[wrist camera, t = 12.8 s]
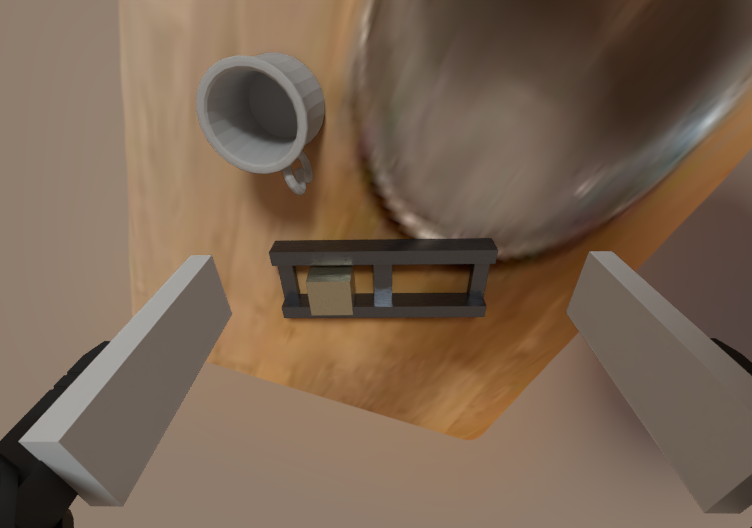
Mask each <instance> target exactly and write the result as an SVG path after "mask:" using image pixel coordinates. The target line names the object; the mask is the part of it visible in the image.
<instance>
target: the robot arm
mask: <svg viewBox="0 0 752 528" xmlns="http://www.w3.org/2000/svg"><path fill="white" fill-rule="evenodd" d="M566 313H567V315H568V316H569V318H570V319H571V321H572V322H573V323H574V325H575V326H576V328H577V329H578V331H579V332H580V334H581V335H582V336H583V338H584V339H585V341H586V342H587V344H588V345H589V347H590V348H591V350H592V351H593V352H594V354H595V355H596V357H597V358H598V360H599V361H600V363H601V364H602V365H603V367H604V368H605V370H606V371H607V373H608V374H609V376H610V377H611V379H612V380H613V381H614V383H615V384H616V386H617V387H618V389H619V390H620V392H621V393H622V395H623V396H624V397H625V399H626V400H627V402H628V403H629V405H630V406H631V408H632V409H633V411H634V412H635V413H636V415H637V416H638V418H639V419H640V421H641V422H642V424H643V425H644V426H645V428H646V429H647V431H648V432H649V434H650V435H651V437H652V438H653V440H654V441H655V443H656V444H657V445H658V447H659V448H660V450H661V451H662V453H663V454H664V456H665V457H666V458H667V460H668V461H669V463H670V464H671V466H672V467H673V469H674V470H675V472H676V473H677V474H678V476H679V477H680V479H681V480H682V481H683V483H684V485H685V486H686V488H687V489H688V490H689V492H690V493H691V495H692V496H693V498H694V499H695V501H696V502H697V504H698V505H699V506H700V508H701V509H702V511H703V512H704V513H741V512H743V511H744V510H745V509H747V508H748V507H749V506H750V505H752V362H750V361H749V360H748V359H747V358H746V357H745V356H743V355H742V354H741V353H739V352H738V351H736V350H734V349H733V348H731V347H729V346H727V345H726V344H724V343H722V342H721V341H719V340H717V339H716V338H711V339H710V338H709V337H708V336H706V335H705V334H704V333H703V332H702V331H701V330H700V329H699V328H697V327H696V326H695V325H694V324H693V323H692V322H691V321H690V320H688V319H687V318H686V317H685V316H684V315H683V314H682V313H681V312H679V311H678V310H677V309H676V308H675V307H674V306H673V305H672V304H671V303H669V302H668V301H667V300H666V299H665V298H664V297H663V296H662V295H660V294H659V293H658V292H657V291H656V290H655V289H654V288H652V287H651V286H650V285H649V284H648V283H647V282H646V281H645V280H644V279H642V278H641V277H640V276H639V275H638V274H637V273H636V272H635V271H634V270H632V269H631V268H630V267H629V266H628V265H627V264H626V263H625V262H623V261H622V260H621V259H620V258H619V257H618V256H617V255H616V254H614V253H613V252H612V251H589V253H588V256H587V258H586V261H585V263H584V266H583V269H582V271H581V274H580V276H579V279H578V282H577V284H576V287H575V290H574V292H573V295H572V297H571V300H570V303H569V305H568V308H567V311H566ZM231 315H232V312H231V309H230V307H229V304H228V301H227V298H226V295H225V292H224V289H223V286H222V283H221V280H220V277H219V275H218V272H217V269H216V266H215V263H214V260H213V257H212V255H190V257H189V258H188V259H187V260H186V261H185V262H184V263H183V264H182V265H181V266H180V267H179V268H178V269H177V271H176V272H175V273H174V274H173V275H172V276H171V277H170V278H169V279H168V280H167V281H166V282H165V284H164V285H163V286H162V287H161V288H160V289H159V290H158V291H157V292H156V293H155V294H154V295H153V296H152V298H151V299H150V300H149V301H148V302H147V303H146V304H145V305H144V306H143V307H142V308H141V309H140V311H139V312H138V313H137V314H136V315H135V316H134V317H133V318H132V319H131V320H130V321H129V323H127V325H126V326H125V327H124V328H123V329H122V330H121V331H120V332H119V333H118V334H117V335H116V336H115V338H114V339H113V340H112V341H104V342H103V343H101V344H100V345H98V346H97V347H95V348H94V349H92V350H91V351H89V352H88V353H86V354H85V355H83V356H82V357H81V358H80V360H78V362H77V363H76V364H75V365H74V366H73V367H72V368H71V369H70V370H69V371H68V372H67V375H64V376H63V377H62V378H61V379H60V380H59V381H58V382H57V383H56V384H55V385H54V389H53V390H49V391H48V392H47V393H46V394H45V396H44V397H43V398H42V399H41V400H40V401H39V402H38V403H37V404H36V405H35V406H34V407H33V408H32V409H31V410H30V411H29V412H28V413H27V414H26V415H25V416H24V417H23V418H22V419H21V420H20V421H19V422H18V423H17V424H16V425H15V426H14V427H13V428H12V429H11V430H10V431H9V433H7V434H6V436H5V437H4V438H3V439H2V440H1V441H0V528H74V521H73V516H72V513H71V510H69V509H68V508H69V506H70V505H71V503H72V502H73V501H74V499H75V498H76V496H77V495H79V496H80V497H81V498H82V499H83V500H85V501H86V502H87V503H88V504H89V505H90V506H124V504H125V502H126V500H127V498H128V497H129V495H130V493H131V491H132V490H133V488H134V486H135V484H136V483H137V481H138V479H139V477H140V476H141V474H142V472H143V470H144V468H145V467H146V465H147V463H148V461H149V460H150V458H151V456H152V454H153V453H154V451H155V449H156V447H157V445H158V444H159V442H160V440H161V438H162V437H163V435H164V433H165V431H166V430H167V428H168V426H169V424H170V422H171V421H172V419H173V417H174V416H175V414H176V412H177V410H178V408H179V407H180V405H181V403H182V401H183V399H184V398H185V396H186V394H187V393H188V391H189V389H190V387H191V385H192V384H193V382H194V380H195V379H196V377H197V375H198V373H199V371H200V370H201V368H202V366H203V364H204V362H205V361H206V359H207V357H208V356H209V354H210V352H211V350H212V349H213V347H214V345H215V343H216V341H217V340H218V338H219V336H220V334H221V333H222V331H223V329H224V327H225V326H226V324H227V322H228V320H229V319H230V317H231ZM751 528H752V527H751Z"/></svg>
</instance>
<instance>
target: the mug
mask: <svg viewBox="0 0 752 528" xmlns="http://www.w3.org/2000/svg"><path fill="white" fill-rule="evenodd" d="M197 114H198V119H199V123H200V126H201V128H202V130H203V132H204V134H205V137H206V139H207V140H208V142H209V143H210V144H211V146H212V147H213V148H214V149H215V151H216V152H217V153H218V154H219V155H220V156H222V157H223V158H224V159H225V160H226V161H227V162H229V163H230V164H232V165H234V166H236V167H238V168H239V169H241V170H244V171H248V172H251V173H256V174H270V173H274V172H278V171H281V170H282V173H283V176H284V179H285V181H286V183H287V185H288V186H289V188H290V189H291V190H292V191H293V192H294V193H295V194H297V195H302V194H304V193H305V192H306V183H310V182H311V181H312V180H313V172H312V168H311V165H310V162H309V159H308V158H307V156H306V154H305V153H304V152H303V151H302V150H303V148H304V146H305V145H306V144H308V143H309V142H311V141H312V139H313V138H314V137H315V136H316V135H317V134H318V132H319V130H320V128H321V126H322V124H323V119H324V114H325V107H324V97H323V94H322V90H321V87H320V85H319V83H318V81H317V80H316V78H315V76H314V75H313V73H312V72H311V71H310V70H309V69H308V68H307V67H306V66H305V65H304V64H303V63H301V62H300V61H298V60H297V59H295V58H294V57H292V56H289V55H286V54H283V53H265V54H262V55H258V56H255V57H252V56H232V57H229V58H225V59H222V60H220V61H218V62H217V63H216V64H214V65H213V66H211V67H210V68H209V69H208V70H207V72H206V73H205V75H204V76H203V78H202V79H201V81H200V85H199V88H198V91H197ZM297 158H299V160H300V162H301V164H302V167H303V168H297V169H296V170H295V178H296V180H295V178H294V176H293V173H292V168H291V164H292V163H293V162H294V161H295V160H296V159H297Z"/></svg>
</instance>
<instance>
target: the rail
mask: <svg viewBox="0 0 752 528" xmlns="http://www.w3.org/2000/svg"><path fill="white" fill-rule="evenodd" d="M497 253H498V249H497V247H496V245H495V244H494V242H493V240H492V238H479V239H389V240H300V241H275V242H274V244H273V246H272V248H271V250H270V251H269V255H270V259H271V263H272V266H278V270H279V275H280V279H281V284H282V288H283V293H284V297H285V300H284V303H283V305H282V311H283V315H284V318H391V317H484V316H485V311H486V304H485V301H484V299H483V297H484V291H485V286H486V281H487V276H488V271H489V266H490V264H495V263H496V258H497ZM407 264H472V267H471V273H470V279H469V285H468V292H467V293H392V265H407ZM297 265H373V266H374V293H367V294H355V301H354V310H353V315H312V314H311V309H310V303H309V298H308V294H300V290H299V284H298V279H297V273H296V268H295V266H297Z"/></svg>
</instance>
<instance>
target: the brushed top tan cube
mask: <svg viewBox="0 0 752 528" xmlns="http://www.w3.org/2000/svg"><path fill="white" fill-rule="evenodd" d="M306 287H307V292H308V298H309V303H310V309H311V314H312V315H353V310H354V301H355V292H356V287H355V275H354V265H311V267H310V270H309V273H308V277H307V280H306Z"/></svg>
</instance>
